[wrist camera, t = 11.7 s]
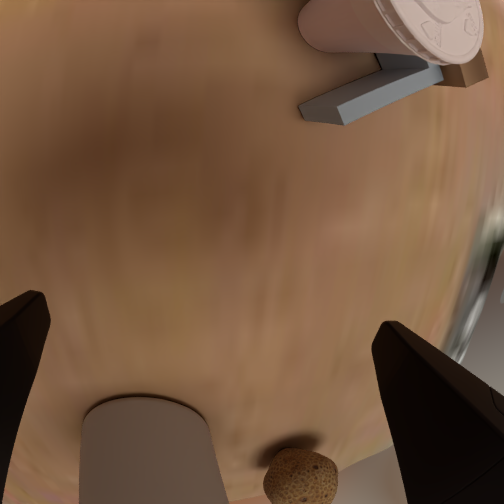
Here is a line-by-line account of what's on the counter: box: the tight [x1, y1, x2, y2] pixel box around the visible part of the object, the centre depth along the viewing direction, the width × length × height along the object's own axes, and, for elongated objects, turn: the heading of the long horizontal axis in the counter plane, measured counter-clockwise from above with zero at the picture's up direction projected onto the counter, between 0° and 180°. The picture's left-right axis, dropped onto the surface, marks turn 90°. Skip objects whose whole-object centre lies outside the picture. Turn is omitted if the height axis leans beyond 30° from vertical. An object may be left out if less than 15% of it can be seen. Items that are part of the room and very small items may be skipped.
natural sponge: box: [263, 448, 338, 504], centre depth 29 cm, size 9×9×10 cm
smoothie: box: [298, 0, 484, 66], centre depth 9 cm, size 6×6×14 cm
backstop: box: [433, 48, 488, 88], centre depth 13 cm, size 3×11×6 cm, turn 27°
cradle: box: [298, 53, 444, 126], centre depth 13 cm, size 8×10×4 cm
